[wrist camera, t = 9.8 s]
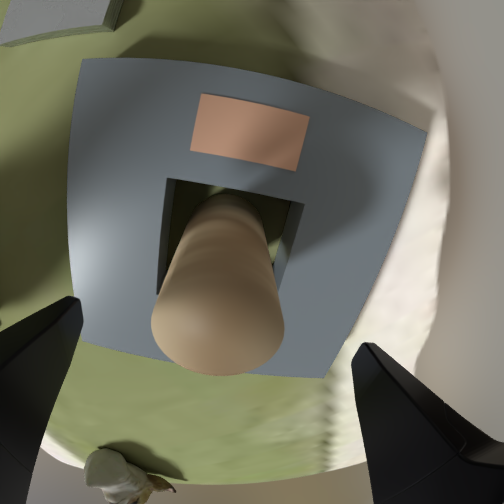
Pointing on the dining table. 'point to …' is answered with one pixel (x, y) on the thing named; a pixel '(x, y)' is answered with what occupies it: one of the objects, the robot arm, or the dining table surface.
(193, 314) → the peg
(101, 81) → the hole plate
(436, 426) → the robot arm
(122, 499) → the ceramic sculpture
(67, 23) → the plate
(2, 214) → the dining table surface
